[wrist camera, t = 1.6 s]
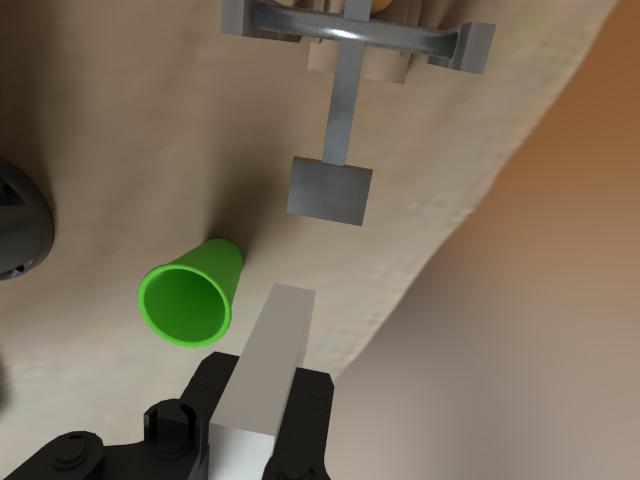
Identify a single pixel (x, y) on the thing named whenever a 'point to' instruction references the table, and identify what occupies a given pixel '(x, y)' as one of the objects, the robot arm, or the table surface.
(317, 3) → the grey angular frame
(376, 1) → the ball
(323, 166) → the lever
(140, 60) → the table surface
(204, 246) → the cup
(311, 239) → the table surface
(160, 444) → the robot arm
